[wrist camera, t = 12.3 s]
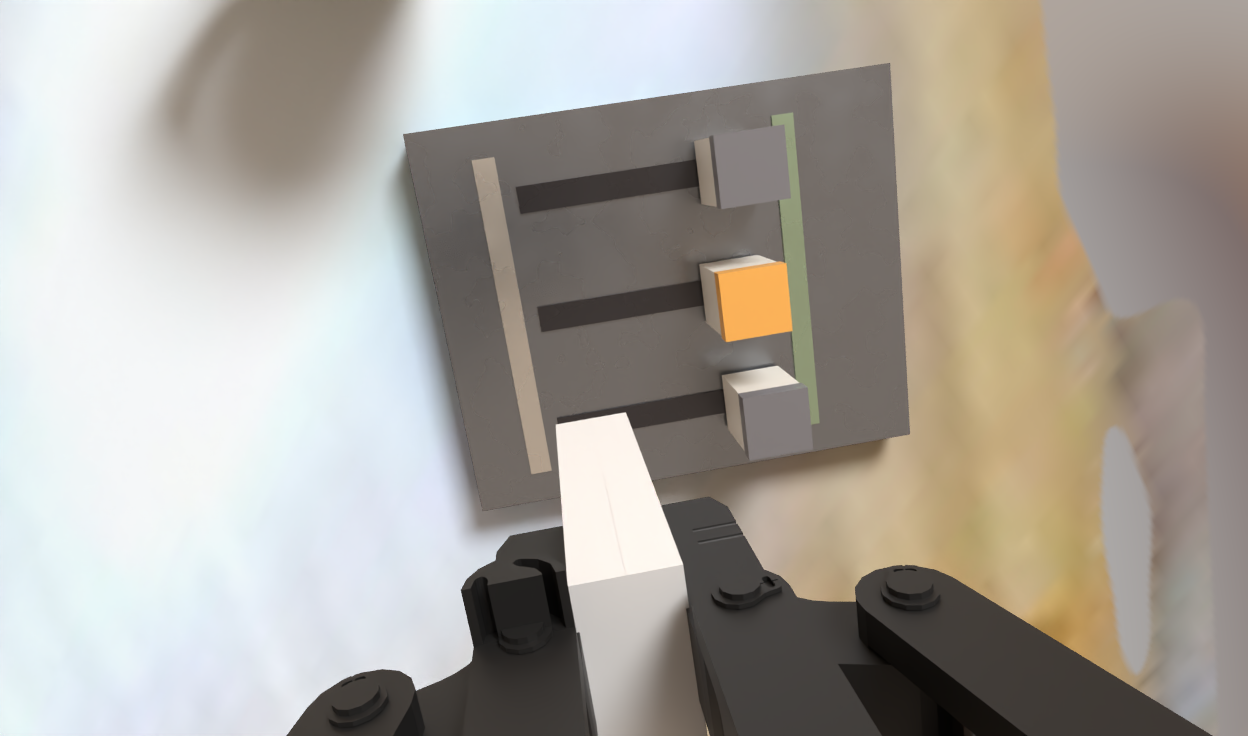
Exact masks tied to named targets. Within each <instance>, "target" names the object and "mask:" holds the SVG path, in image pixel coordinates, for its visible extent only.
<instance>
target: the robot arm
mask: <svg viewBox="0 0 1248 736" xmlns="http://www.w3.org/2000/svg"><path fill="white" fill-rule="evenodd" d="M556 437H557V451H558V464H559V478H560V491H561V505H562V518H563V526H560V527H555V528H549V529H544V530H539V531H533V532H528V533H522V534H517V535H512V536H510V537H509V538H508V539H507V540H506V541H505V543H504V544H503V545H502V546H501V548H500V549H499V550H498V551H497V554H496V561H494V562H492V563H490V564H488V565H486V566H484V567H482V568H480V569H478V570H477V571H476V572H475V573H473V574H472V575H471V576H470V577H469V578H468V579H467V580H466V581H465V583H464V585H463V587H462V589H461V593H462V597H463V602H464V606H465V610H466V615H467V619H468V624H469V628H470V632H471V637H472V641H473V646H474V650H473V657H472V662H471V663H470V664H469V665H467V666H466V667H464V668H463V669H461V670H460V671H458V672H457V673H455V674H453V675H451V676H449V677H447V678H445V679H443V680H441V681H439V682H436V683H434V684H432V685H429V686H427V687H424V688H422V689H419V690H417V691H416V690H415V687H414V684H413V681H412V679H411V677H409V676H407V675H405V674H404V673H402V672H400V671H394V670H384V669H381V670H376V671H370V672H363V673H360V674H356V675H354V676H353V677H348V678H346V679H344V680H342V681H340V682H339V683H337V684H336V685H334V686H332V687H331V688H329V689H328V690H326V691H325V692H323V693H322V694H321V695H320V696H319V697H318V698H317V699H316V700H315V701H314V702H313V703H312V704H311V705H310V706H309V707H308V708H307V709H306V710H305V712H304V713H303V714H302V716H301V717H300V718H299V720H298V721H297V722H296V724H295V725H294V726H293V728H292V729H291V730H290V732H289V733H288V734H287V736H707V729H706V724H707V727H708V731H709V734H710V736H1212V735H1210V734H1209V733H1207V732H1206V731H1204V730H1202V729H1201V728H1199V727H1197V726H1196V725H1194V724H1192V723H1191V722H1189V721H1187V720H1186V719H1184V718H1183V717H1181V716H1179V715H1178V714H1176V713H1174V712H1173V711H1171V710H1169V709H1168V708H1166V707H1164V706H1163V705H1161V704H1160V703H1158V702H1156V701H1155V700H1153V699H1151V698H1150V697H1148V696H1146V695H1145V694H1143V693H1142V692H1140V691H1138V690H1137V689H1135V688H1133V687H1132V686H1130V685H1128V684H1127V683H1125V682H1123V681H1122V680H1120V679H1119V678H1117V677H1115V676H1114V675H1112V674H1110V673H1109V672H1107V671H1105V670H1104V669H1102V668H1101V667H1099V666H1097V665H1096V664H1094V663H1092V662H1091V661H1089V660H1087V659H1086V658H1084V657H1082V656H1081V655H1079V654H1078V653H1076V652H1074V651H1073V650H1071V649H1069V648H1068V647H1066V646H1064V645H1063V644H1061V643H1059V642H1058V641H1056V640H1055V639H1053V638H1051V637H1050V636H1048V635H1046V634H1045V633H1043V632H1041V631H1040V630H1038V629H1037V628H1035V627H1033V626H1032V625H1030V624H1028V623H1027V622H1025V621H1023V620H1022V619H1020V618H1018V617H1017V616H1015V615H1014V614H1012V613H1010V612H1009V611H1007V610H1005V609H1004V608H1002V607H1000V606H999V605H997V604H996V603H994V602H992V601H991V600H989V599H987V598H986V597H984V596H982V595H981V594H979V593H977V592H976V591H974V590H973V589H971V588H969V587H968V586H966V585H964V584H963V583H961V582H959V581H958V580H956V579H954V578H953V577H951V576H948V575H946V574H944V573H941V572H939V571H937V570H934V569H928V568H923V567H918V566H914V565H905V566H902V565H898V566H891V567H887V568H883V569H878V570H875V571H873V572H871V573H869V574H868V575H866V576H864V577H862V578H861V580H860V581H859V583H858V584H857V585H856V587H855V594H856V602H826V601H812V600H807V599H803V598H798V597H797V596H796V595H795V593H794V592H793V590H792V588H791V587H790V585H789V584H788V583H787V582H786V581H785V580H784V579H783V578H782V577H781V576H779V575H776V574H774V573H771V572H769V571H766V570H764V569H763V567H762V565H761V564H760V562H759V560H758V559H757V557H756V555H755V553H754V552H753V550H752V548H751V546H750V545H749V543H748V541H747V539H746V538H745V536H743V533H742V531H741V529H740V527H739V526H738V524H736V520H735V519H734V517H733V515H732V514H731V512H730V510H729V508H728V507H727V506H725V505H723V504H721V503H720V502H718V501H716V500H714V499H712V498H710V497H705V498H700V499H694V500H689V501H683V502H678V503H672V504H667V505H662V506H661V504H660V502H659V499H658V496H657V494H656V491H655V488H654V486H653V483H652V481H651V478H650V475H649V473H648V470H647V467H646V465H645V462H644V459H643V457H642V454H641V451H640V449H639V446H638V443H637V441H636V438H635V435H634V433H633V430H632V427H631V425H630V422H629V419H628V417H627V414H626V412H625V413H619V414H613V415H607V416H602V417H596V418H590V419H585V420H579V421H573V422H568V423H562V424H556ZM705 721H706V722H705Z"/></svg>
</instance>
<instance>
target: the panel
mask: <svg viewBox="0 0 1248 736" xmlns="http://www.w3.org/2000/svg"><path fill="white" fill-rule="evenodd" d="M777 125H785V137H786V148H787V159H788V171H789V182H790V193H791V198H790V199H783V200H777V201H771V202H764V203H758V204H752V205H745V206H739V207H732V208H726V209H717V207H715V206H709V205H703V204H701V196H700V188H699V179H698V171H697V162H696V154H695V145H694V141H697V140H701V139H705V138H709V136H712V135H717V134H724V133H731V132H737V131H744V130H751V129H757V128H764V127H771V126H777ZM403 137H404V141H405V146H406V151H407V155H408V160H409V165H410V170H411V174H412V179H413V184H414V189H415V193H416V198H417V203H418V207H419V212H420V217H421V222H422V226H423V231H424V236H425V241H426V245H427V250H428V255H429V259H430V264H431V269H432V274H433V278H434V283H435V288H436V293H437V297H438V302H439V307H440V311H441V316H442V321H443V326H444V330H445V335H446V340H447V345H448V349H449V354H450V359H451V363H452V368H453V373H454V378H455V382H456V387H457V392H458V397H459V401H460V406H461V411H462V415H463V420H464V425H465V430H466V434H467V439H468V444H469V449H470V453H471V458H472V463H473V467H474V472H475V477H476V482H477V486H478V491H479V496H480V500H481V505H482V510H483V511H486V510H491V509H497V508H502V507H508V506H514V505H519V504H525V503H530V502H536V501H541V500H547V499H553V498H558V497H561V491H560V478H559V464H558V451H557V437H556V424H562V423H568V422H573V421H579V420H585V419H590V418H596V417H602V416H607V415H613V414H619V413H625V412H626V414H627V417H628V419H629V422H630V425H631V427H632V430H633V433H634V435H635V438H636V441H637V443H638V446H639V449H640V451H641V454H642V457H643V459H644V462H645V465H646V467H647V470H648V473H649V475H650V478H651V481H653V480H658V479H664V478H669V477H675V476H680V475H686V474H692V473H697V472H703V471H708V470H714V469H719V468H725V467H730V466H736V465H742V464H747V463H753V462H758V461H764V460H769V459H775V458H780V457H786V456H792V455H797V454H803V453H808V452H814V451H819V450H825V449H831V448H836V447H842V446H847V445H853V444H858V443H864V442H869V441H875V440H881V439H886V438H892V437H897V436H903V435H908V434H910V426H909V407H908V389H907V370H906V352H905V333H904V315H903V296H902V277H901V259H900V240H899V222H898V203H897V184H896V166H895V147H894V129H893V110H892V92H891V73H890V63H887V64H880V65H873V66H866V67H859V68H853V69H846V70H839V71H832V72H825V73H819V74H812V75H805V76H798V77H791V78H784V79H778V80H771V81H764V82H757V83H750V84H743V85H737V86H730V87H723V88H716V89H709V90H702V91H696V92H689V93H682V94H675V95H668V96H662V97H655V98H648V99H641V100H634V101H627V102H621V103H614V104H607V105H600V106H593V107H586V108H580V109H573V110H566V111H559V112H552V113H545V114H539V115H532V116H525V117H518V118H511V119H505V120H498V121H491V122H484V123H477V124H470V125H464V126H457V127H450V128H443V129H436V130H429V131H423V132H416V133H409V134H403ZM753 255H760V256H762V257H765V258H768V259H771V260H774V261H776V262H779V261H781V262H784V263H786V265H787V275H788V286H789V297H790V308H791V319H792V330H793V331H789V332H783V333H777V334H771V335H766V336H760V337H754V338H748V339H742V340H736V341H730V342H725V341H724V340H723V339H722V336H721V335H720V334H719V333H718V332H716V331H715V330H714V329H713V328H712V327H711V326H710V325H708V324H707V323H706V316H705V308H704V299H703V291H702V283H701V275H700V266H699V264H704V263H710V262H716V261H723V260H729V259H735V258H741V257H747V256H753ZM773 366H779V367H780V368H781V369H783V370H784V371H785V372H786V373H788V374H789V375H790V376H791V377H793V378H794V379H795V380H797V381H798V382H799V383H803V384H804V385H805V386H807V387H808V396H809V407H810V419H811V430H812V441H813V450H807V451H801V452H796V453H790V454H785V455H779V456H774V457H768V458H763V459H757V460H751V461H749V459H748V458H747V457H746V455H745V451H744V450H743V449H742V447H741V446H740V445H739V443H738V442H737V441H736V439H735V438H734V437H733V435H732V434H731V433H730V431H729V430H728V424H727V416H726V407H725V399H724V390H723V382H722V375H726V374H732V373H738V372H744V371H749V370H755V369H761V368H767V367H773Z"/></svg>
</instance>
